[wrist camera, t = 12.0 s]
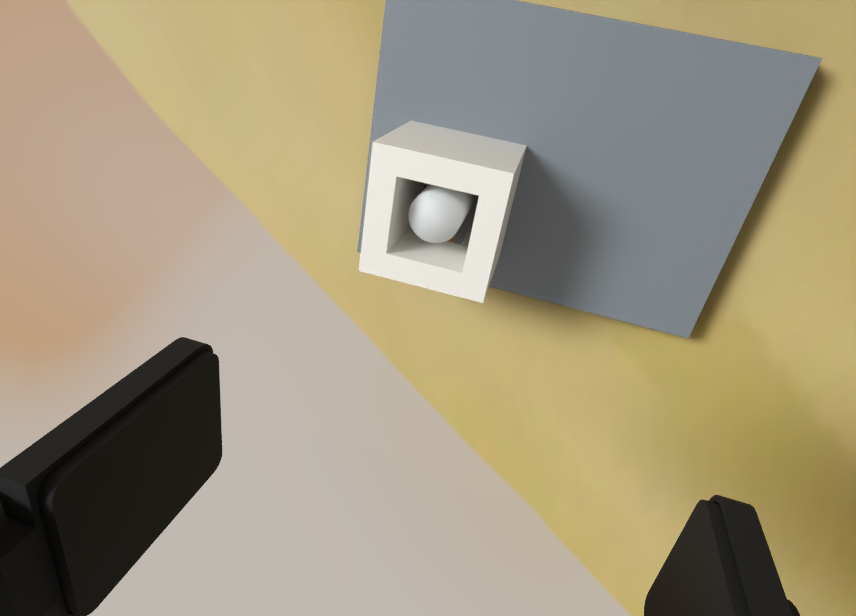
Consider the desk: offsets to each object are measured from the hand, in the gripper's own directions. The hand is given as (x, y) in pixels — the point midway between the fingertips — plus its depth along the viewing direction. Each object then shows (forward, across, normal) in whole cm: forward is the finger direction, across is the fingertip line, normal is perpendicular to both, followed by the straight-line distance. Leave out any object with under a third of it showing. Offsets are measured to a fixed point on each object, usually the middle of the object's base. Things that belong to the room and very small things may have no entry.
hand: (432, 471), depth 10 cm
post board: (+22, 0, -2) cm, 22 cm away
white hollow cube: (+20, +4, 0) cm, 21 cm away
